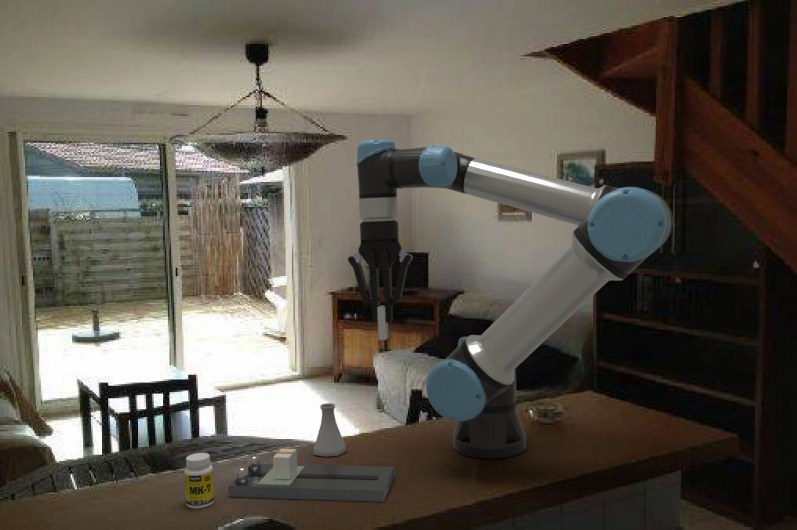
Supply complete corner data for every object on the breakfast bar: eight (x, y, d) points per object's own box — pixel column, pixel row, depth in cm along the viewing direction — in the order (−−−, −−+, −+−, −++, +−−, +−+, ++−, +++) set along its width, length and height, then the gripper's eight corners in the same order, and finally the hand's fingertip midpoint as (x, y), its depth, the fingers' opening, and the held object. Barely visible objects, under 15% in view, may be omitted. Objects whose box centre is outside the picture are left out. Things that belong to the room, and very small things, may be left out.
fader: (297, 470, 128) (296, 448, 127) (289, 479, 123) (288, 456, 123) (282, 469, 128) (280, 447, 128) (274, 478, 124) (272, 456, 124)
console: (394, 477, 128) (393, 453, 128) (383, 502, 117) (382, 475, 117) (252, 473, 133) (250, 450, 133) (229, 496, 122) (227, 471, 122)
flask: (341, 458, 139) (339, 410, 139) (307, 457, 141) (305, 409, 140) (351, 446, 146) (349, 400, 146) (318, 445, 148) (316, 400, 147)
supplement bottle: (187, 511, 117) (184, 463, 116) (184, 501, 121) (181, 454, 120) (216, 505, 119) (213, 458, 118) (212, 495, 123) (209, 450, 122)
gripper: (414, 218, 138) (418, 335, 139) (350, 221, 140) (355, 335, 142) (408, 219, 130) (413, 342, 132) (341, 221, 132) (347, 342, 134)
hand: (383, 338), depth 137 cm, fingers closed
